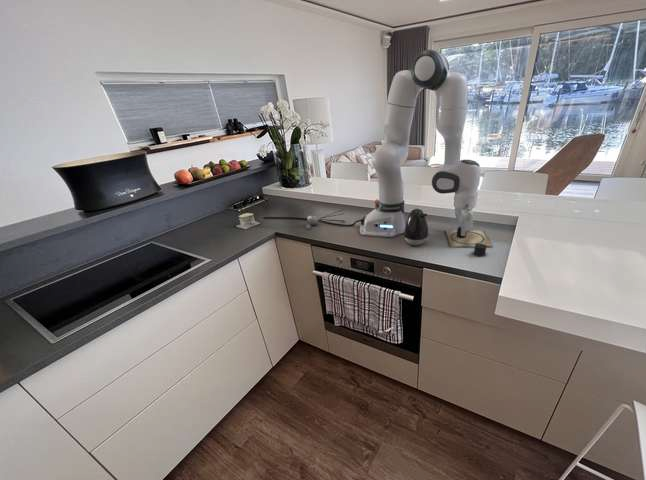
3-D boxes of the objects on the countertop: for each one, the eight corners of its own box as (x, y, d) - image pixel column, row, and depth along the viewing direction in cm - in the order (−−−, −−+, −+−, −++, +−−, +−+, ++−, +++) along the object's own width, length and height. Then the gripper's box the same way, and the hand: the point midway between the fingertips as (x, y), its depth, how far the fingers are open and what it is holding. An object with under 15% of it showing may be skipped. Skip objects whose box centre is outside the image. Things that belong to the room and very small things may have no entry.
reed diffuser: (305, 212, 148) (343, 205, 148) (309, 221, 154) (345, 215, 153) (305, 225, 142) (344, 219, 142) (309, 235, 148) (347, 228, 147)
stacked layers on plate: (245, 229, 150) (242, 219, 147) (235, 226, 155) (232, 216, 152) (261, 223, 157) (258, 213, 154) (251, 220, 161) (249, 211, 159)
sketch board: (450, 247, 118) (450, 245, 118) (445, 231, 132) (445, 230, 131) (491, 247, 116) (491, 245, 115) (482, 231, 129) (482, 230, 129)
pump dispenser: (416, 250, 117) (417, 215, 110) (398, 242, 125) (399, 209, 117) (433, 243, 122) (435, 208, 115) (415, 235, 130) (416, 203, 122)
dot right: (475, 256, 110) (476, 248, 108) (472, 251, 113) (474, 243, 112) (486, 256, 109) (487, 248, 108) (483, 251, 113) (484, 243, 111)
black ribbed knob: (459, 238, 123) (460, 231, 121) (454, 235, 126) (455, 227, 125) (467, 237, 123) (468, 229, 122) (463, 233, 127) (464, 226, 125)
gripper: (479, 209, 108) (474, 242, 115) (468, 194, 125) (464, 223, 132) (461, 210, 109) (458, 242, 116) (453, 194, 126) (450, 224, 133)
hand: (461, 232), depth 124 cm, fingers closed on black ribbed knob, 4 cm apart
